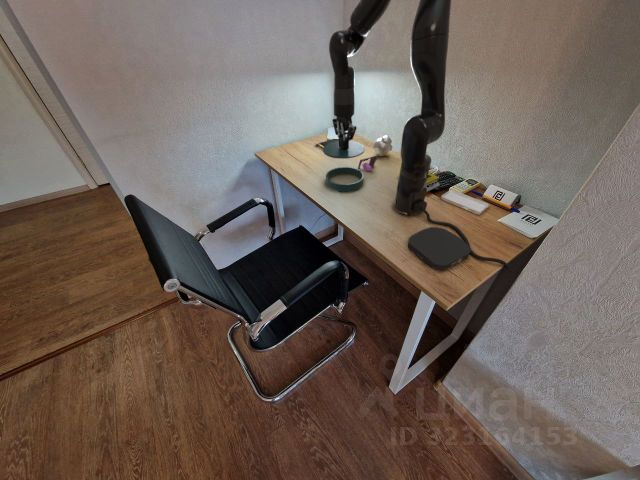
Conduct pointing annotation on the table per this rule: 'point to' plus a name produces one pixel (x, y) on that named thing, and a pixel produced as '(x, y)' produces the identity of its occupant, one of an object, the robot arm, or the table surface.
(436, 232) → the media streaming box
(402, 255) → the table surface
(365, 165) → the purple monster toy
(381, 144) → the ghost figurine
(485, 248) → the table surface
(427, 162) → the robot arm
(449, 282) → the table surface
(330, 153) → the tin lid
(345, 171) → the tin
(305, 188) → the table surface
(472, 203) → the phone case
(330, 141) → the dark notebook
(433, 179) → the emergency button
